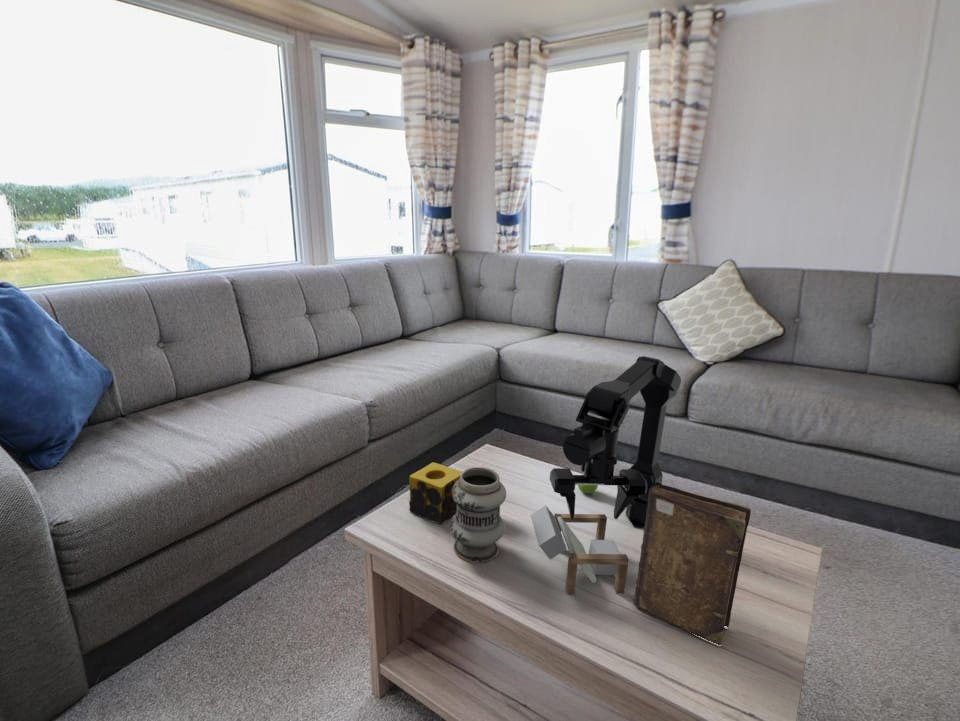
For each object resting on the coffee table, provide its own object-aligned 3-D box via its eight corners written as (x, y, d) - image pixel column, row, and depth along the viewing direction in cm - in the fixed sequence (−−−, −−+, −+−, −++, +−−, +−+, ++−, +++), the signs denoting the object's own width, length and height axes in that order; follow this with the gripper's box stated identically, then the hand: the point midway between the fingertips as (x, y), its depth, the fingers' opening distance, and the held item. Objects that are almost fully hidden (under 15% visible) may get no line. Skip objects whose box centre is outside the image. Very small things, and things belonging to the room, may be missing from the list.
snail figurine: (602, 491, 144) (607, 451, 141) (590, 499, 139) (594, 458, 136) (585, 484, 147) (589, 445, 144) (572, 491, 143) (577, 451, 140)
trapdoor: (563, 555, 118) (582, 543, 117) (576, 593, 106) (597, 580, 105) (529, 513, 114) (548, 501, 114) (539, 547, 102) (560, 534, 102)
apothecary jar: (451, 567, 109) (454, 490, 105) (446, 534, 121) (448, 463, 116) (508, 564, 111) (513, 488, 107) (497, 531, 123) (502, 461, 118)
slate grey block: (587, 559, 114) (609, 560, 114) (593, 574, 109) (617, 575, 110) (591, 539, 113) (613, 540, 113) (597, 553, 108) (621, 554, 108)
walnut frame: (601, 545, 120) (605, 514, 117) (623, 593, 104) (628, 559, 102) (551, 545, 119) (554, 513, 117) (566, 593, 103) (570, 558, 101)
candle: (465, 508, 132) (466, 472, 130) (441, 526, 124) (442, 488, 122) (433, 495, 138) (433, 460, 135) (408, 512, 129) (408, 475, 127)
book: (628, 605, 101) (645, 489, 94) (643, 587, 106) (660, 475, 100) (719, 652, 91) (745, 525, 84) (730, 629, 96) (755, 508, 90)
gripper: (633, 433, 113) (624, 498, 117) (547, 431, 111) (542, 497, 115) (652, 456, 102) (642, 526, 106) (558, 454, 101) (551, 526, 105)
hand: (593, 518), depth 108 cm, fingers open, 9 cm apart
